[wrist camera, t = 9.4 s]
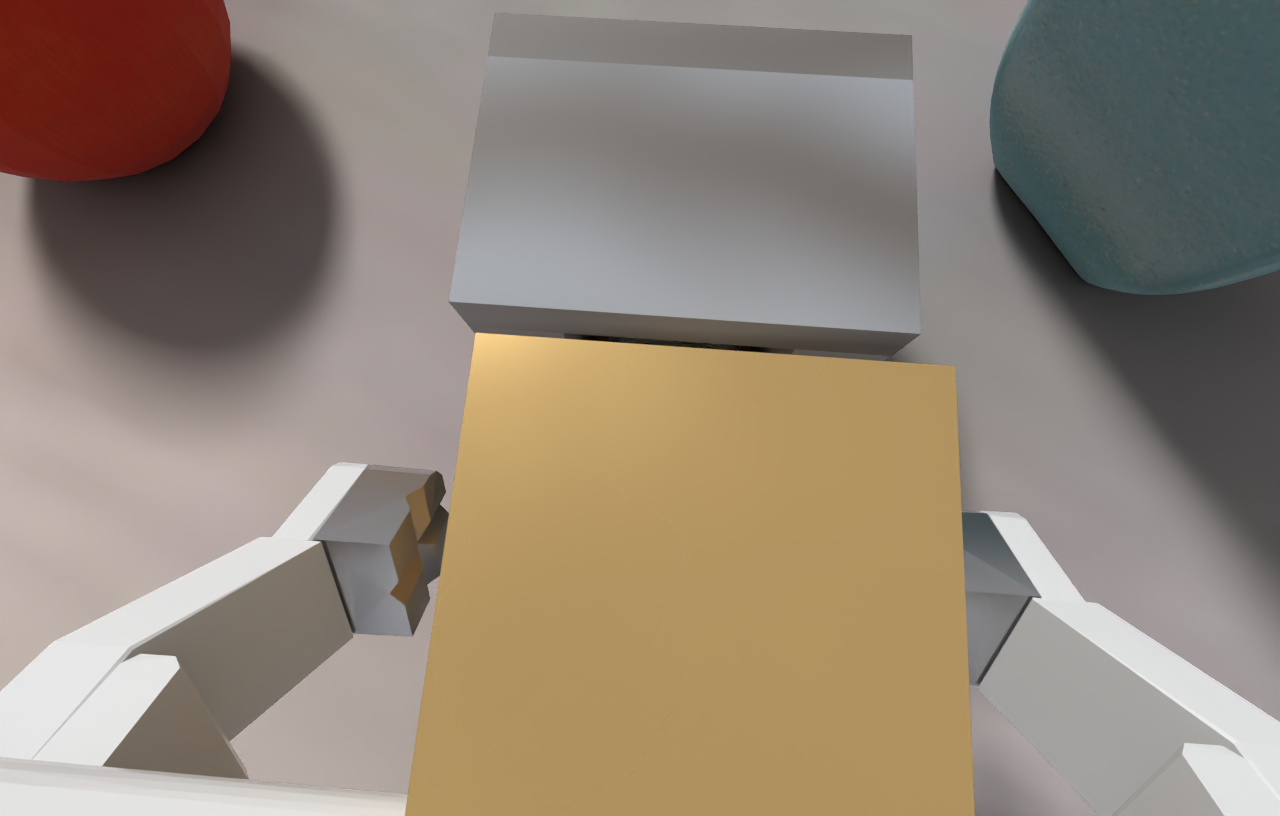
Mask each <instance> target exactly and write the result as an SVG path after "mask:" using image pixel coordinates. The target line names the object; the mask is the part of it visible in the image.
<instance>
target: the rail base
mask: <svg viewBox="0 0 1280 816" xmlns="http://www.w3.org/2000/svg"><path fill="white" fill-rule="evenodd" d="M449 303H450V304H451V305H452V306H453V307H454V309H455V310H456V311H457V312H458V314H459V315H460V316H461V317H462V318H463V320H464V321H465V322H466V323H467V324H468V326H469V327H470V328H471V329H472V330H473V332H474V333H475V334H476V333H489V334H503V335H518V336H532V337H546V338H561V339H575V340H589V341H603V342H609V336H612V337H626V338H641V339H655V340H669V341H684V342H698V343H712V344H727V345H740V351H746V352H760V353H775V354H789V355H803V356H818V357H832V358H846V359H860V360H875V361H886V360H887V359H888V358H890V357H891V356H892V355H894V354H895V353H896V352H898V351H899V350H900V349H902V348H903V347H904V346H906V345H907V344H908V343H910V342H911V341H912V340H913V339H915V338H916V337H917V336H919V335H920V334H921V318H920V286H919V253H918V220H917V188H916V155H915V122H914V89H913V57H912V35H894V34H876V33H858V32H839V31H821V30H803V29H784V28H766V27H748V26H730V25H711V24H693V23H675V22H656V21H638V20H620V19H602V18H583V17H565V16H547V15H528V14H510V13H495V14H494V21H493V27H492V33H491V39H490V46H489V52H488V58H487V64H486V71H485V77H484V83H483V89H482V96H481V102H480V108H479V114H478V121H477V127H476V133H475V139H474V146H473V152H472V158H471V164H470V170H469V177H468V183H467V189H466V195H465V202H464V208H463V214H462V220H461V227H460V233H459V239H458V245H457V252H456V258H455V264H454V270H453V277H452V283H451V289H450V295H449Z"/></svg>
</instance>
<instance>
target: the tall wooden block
mask: <svg viewBox="0 0 1280 816" xmlns="http://www.w3.org/2000/svg"><path fill="white" fill-rule="evenodd" d="M405 816H975V807H974V784H973V761H972V738H971V715H970V692H969V669H968V646H967V623H966V601H965V578H964V555H963V532H962V509H961V486H960V463H959V440H958V417H957V395H956V372H955V366H946V365H932V364H918V363H903V362H889V361H875V360H860V359H846V358H832V357H818V356H803V355H789V354H775V353H760V352H746V351H740V345H727V344H712V343H698V342H684V341H669V340H655V339H641V338H626V337H612V336H609V342H603V341H589V340H575V339H561V338H546V337H532V336H518V335H503V334H489V333H476V335H475V341H474V348H473V355H472V362H471V369H470V375H469V382H468V389H467V396H466V402H465V409H464V416H463V423H462V430H461V436H460V443H459V450H458V457H457V464H456V470H455V477H454V484H453V491H452V498H451V504H450V511H449V518H448V525H447V531H446V538H445V545H444V552H443V559H442V565H441V572H440V579H439V586H438V593H437V599H436V606H435V613H434V620H433V627H432V633H431V640H430V647H429V654H428V661H427V667H426V674H425V681H424V688H423V694H422V701H421V708H420V715H419V722H418V728H417V735H416V742H415V749H414V756H413V762H412V769H411V776H410V783H409V790H408V796H407V803H406V810H405Z"/></svg>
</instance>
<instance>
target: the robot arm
mask: <svg viewBox="0 0 1280 816" xmlns="http://www.w3.org/2000/svg"><path fill="white" fill-rule="evenodd" d="M445 493H446V490H445V486H444V481H443V477H442V475H441V474H440V473H439V472H437V471H432V470H422V469H412V468H402V467H392V466H381V465H366V464H355V463H345V462H340V463H338V464H335V465H333V466H331V467H330V468H329V469H328V470H327V472H326V473H325V474H324V475H323V476H322V478H321V479H320V480H319V481H318V482H317V484H316V485H315V486H314V487H313V488H312V490H311V491H310V492H309V493H308V494H307V496H306V497H305V498H304V499H303V500H302V502H301V503H300V504H299V505H298V506H297V508H296V509H295V510H294V511H293V512H292V514H291V515H290V516H289V517H288V518H287V520H286V521H285V522H284V523H283V524H282V526H281V527H280V528H279V529H278V530H277V532H276V533H275V534H274V535H273V536H272V537H259V538H257V539H255V540H253V541H251V542H249V543H247V544H246V545H244V546H242V547H240V548H238V549H236V550H234V551H232V552H230V553H228V554H226V555H224V556H222V557H220V558H218V559H216V560H214V561H212V562H210V563H208V564H206V565H204V566H202V567H200V568H198V569H196V570H194V571H192V572H190V573H188V574H186V575H184V576H182V577H180V578H178V579H176V580H174V581H172V582H170V583H168V584H166V585H165V586H163V587H161V588H159V589H157V590H155V591H153V592H151V593H149V594H147V595H145V596H143V597H141V598H139V599H137V600H135V601H133V602H131V603H129V604H127V605H125V606H123V607H121V608H119V609H117V610H115V611H113V612H111V613H109V614H107V615H105V616H103V617H101V618H99V619H97V620H95V621H93V622H91V623H89V624H87V625H85V626H84V627H82V628H80V629H78V630H76V631H74V632H72V633H70V634H68V635H66V636H64V637H62V638H60V639H58V640H56V641H54V642H52V643H51V644H50V645H49V646H48V647H47V648H46V649H45V650H44V651H43V652H42V653H41V654H39V655H38V656H37V657H36V658H35V659H34V660H33V661H32V662H31V663H30V664H29V665H28V666H27V667H26V668H25V669H24V670H23V671H22V672H21V673H19V674H18V675H17V676H16V677H15V678H14V679H13V680H12V681H11V682H10V683H9V684H8V685H7V686H6V687H5V688H4V689H3V690H2V691H1V692H0V816H405V810H406V803H407V796H408V794H403V793H392V792H381V791H370V790H359V789H348V788H336V787H325V786H314V785H303V784H292V783H281V782H270V781H259V780H249V779H248V774H247V770H246V768H245V766H244V764H243V763H242V761H241V760H240V758H239V756H238V755H237V753H236V752H235V750H234V749H233V747H232V745H231V744H230V742H229V741H230V740H232V739H233V738H234V737H235V736H236V735H238V734H239V733H240V732H241V731H242V730H244V729H245V728H246V727H247V726H248V725H249V724H251V723H252V722H253V721H254V720H255V719H257V718H258V717H259V716H260V715H261V714H263V713H264V712H265V711H266V710H267V709H268V708H270V707H271V706H272V705H273V704H274V703H276V702H277V701H278V700H279V699H280V698H282V697H283V696H284V695H285V694H286V693H287V692H289V691H290V690H291V689H292V688H293V687H295V686H296V685H297V684H298V683H299V682H300V681H302V680H303V679H304V678H305V677H306V676H308V675H309V674H310V673H311V672H312V671H314V670H315V669H316V668H317V667H318V666H319V665H321V664H322V663H323V662H324V661H325V660H327V659H328V658H329V657H330V656H331V655H333V654H334V653H335V652H336V651H337V650H338V649H340V648H341V647H342V646H343V645H344V644H346V643H347V642H348V641H349V640H350V639H352V638H353V633H354V634H373V635H391V636H409V637H413V635H414V632H415V630H416V628H417V626H418V624H419V622H420V619H421V617H422V615H423V613H424V611H425V608H426V606H427V604H428V602H429V600H430V596H429V591H428V587H427V584H428V583H430V582H431V581H433V580H434V579H436V578H437V577H438V576H440V572H441V565H442V559H443V552H444V545H445V538H446V531H447V525H448V518H449V513H448V512H447V511H446V510H445V509H444V508H443V507H442V506H441V505H440V502H441V500H442V499H443V497H444V495H445ZM962 532H963V555H964V578H965V601H966V623H967V646H968V669H969V685H977V686H979V687H978V690H979V691H980V692H981V693H982V694H983V695H984V696H985V697H986V698H987V699H988V700H989V701H990V702H991V703H992V704H993V705H994V706H995V707H996V709H997V710H998V711H999V712H1000V713H1001V714H1002V715H1003V716H1004V717H1005V718H1006V719H1007V720H1008V721H1009V722H1010V723H1011V724H1012V725H1013V726H1014V727H1015V729H1016V730H1017V731H1018V732H1019V733H1020V734H1021V735H1022V736H1023V737H1024V738H1025V739H1026V740H1027V741H1028V742H1029V743H1030V744H1031V745H1032V746H1033V748H1034V749H1035V750H1036V751H1037V752H1038V753H1039V754H1040V755H1041V756H1042V757H1043V758H1044V759H1045V760H1046V761H1047V762H1048V763H1049V764H1050V765H1051V766H1052V768H1053V769H1054V770H1055V771H1056V772H1057V773H1058V774H1059V775H1060V776H1061V777H1062V778H1063V779H1064V780H1065V781H1066V782H1067V783H1068V784H1069V785H1070V786H1071V788H1072V789H1073V790H1074V791H1075V792H1076V793H1077V794H1078V795H1079V796H1080V797H1081V798H1082V799H1083V800H1084V801H1085V802H1086V803H1087V804H1088V805H1089V806H1090V808H1091V809H1092V810H1093V811H1094V812H1095V813H1096V814H1097V815H1098V816H1280V722H1279V721H1277V720H1276V719H1274V718H1273V717H1271V716H1269V715H1268V714H1266V713H1265V712H1263V711H1262V710H1260V709H1259V708H1257V707H1256V706H1254V705H1253V704H1251V703H1250V702H1248V701H1247V700H1245V699H1243V698H1242V697H1240V696H1239V695H1237V694H1236V693H1234V692H1233V691H1231V690H1230V689H1228V688H1227V687H1225V686H1224V685H1222V684H1221V683H1219V682H1217V681H1216V680H1214V679H1213V678H1211V677H1210V676H1208V675H1207V674H1205V673H1204V672H1202V671H1201V670H1199V669H1198V668H1196V667H1195V666H1193V665H1191V664H1190V663H1188V662H1187V661H1185V660H1184V659H1182V658H1181V657H1179V656H1178V655H1176V654H1175V653H1173V652H1172V651H1170V650H1168V649H1167V648H1165V647H1164V646H1162V645H1161V644H1159V643H1158V642H1156V641H1155V640H1153V639H1152V638H1150V637H1149V636H1147V635H1146V634H1144V633H1142V632H1141V631H1139V630H1138V629H1136V628H1135V627H1133V626H1132V625H1130V624H1129V623H1127V622H1126V621H1124V620H1123V619H1121V618H1120V617H1118V616H1116V615H1115V614H1113V613H1112V612H1110V611H1109V610H1107V609H1106V608H1104V607H1103V606H1101V605H1100V604H1098V603H1090V602H1085V601H1084V599H1083V598H1082V596H1081V595H1080V594H1079V592H1078V591H1077V590H1076V588H1075V587H1074V585H1073V584H1072V583H1071V581H1070V580H1069V578H1068V577H1067V576H1066V574H1065V573H1064V572H1063V570H1062V569H1061V567H1060V566H1059V565H1058V563H1057V562H1056V561H1055V559H1054V558H1053V556H1052V555H1051V554H1050V552H1049V551H1048V550H1047V548H1046V547H1045V545H1044V544H1043V543H1042V541H1041V540H1040V539H1039V537H1038V536H1037V534H1036V533H1035V532H1034V530H1033V529H1032V527H1031V526H1030V525H1029V523H1028V522H1027V521H1026V519H1025V518H1023V517H1022V516H1020V515H1018V514H1017V513H1010V512H992V511H979V512H976V511H964V510H962Z"/></svg>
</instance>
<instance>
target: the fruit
mask: <svg viewBox="0 0 1280 816" xmlns="http://www.w3.org/2000/svg"><path fill="white" fill-rule="evenodd" d="M230 63H231V42H230V21H229V18H228V14H227V11H226V7H225V4H224V1H223V0H0V172H3V173H8V174H13V175H17V176H22V177H29V178H37V179H46V180H55V181H64V182H71V181H89V180H106V179H112V178H118V177H124V176H130V175H136V174H140V173H142V172H145V171H147V170H149V169H152V168H154V167H156V166H158V165H161V164H163V163H165V162H167V161H170V160H172V159H173V158H175V157H176V156H177V155H178V154H180V153H181V152H182V151H184V150H185V149H186V148H187V147H189V146H190V145H191V144H192V143H194V142H195V141H196V140H198V139H199V138H200V137H201V135H202V134H203V133H204V131H205V130H206V129H207V127H208V126H209V125H210V123H211V122H212V120H213V119H214V118H215V116H216V115H217V114H218V112H219V110H220V108H221V105H222V102H223V99H224V96H225V93H226V90H227V87H228V84H229V75H230Z"/></svg>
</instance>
